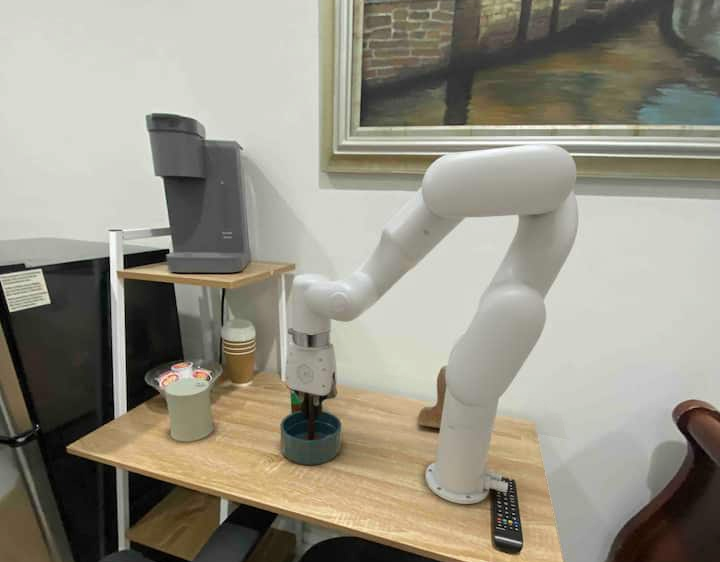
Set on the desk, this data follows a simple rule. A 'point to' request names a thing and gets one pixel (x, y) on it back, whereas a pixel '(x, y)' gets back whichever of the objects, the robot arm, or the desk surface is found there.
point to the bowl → (310, 449)
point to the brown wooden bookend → (434, 414)
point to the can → (189, 409)
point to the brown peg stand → (310, 422)
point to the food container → (295, 402)
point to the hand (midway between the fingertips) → (311, 417)
